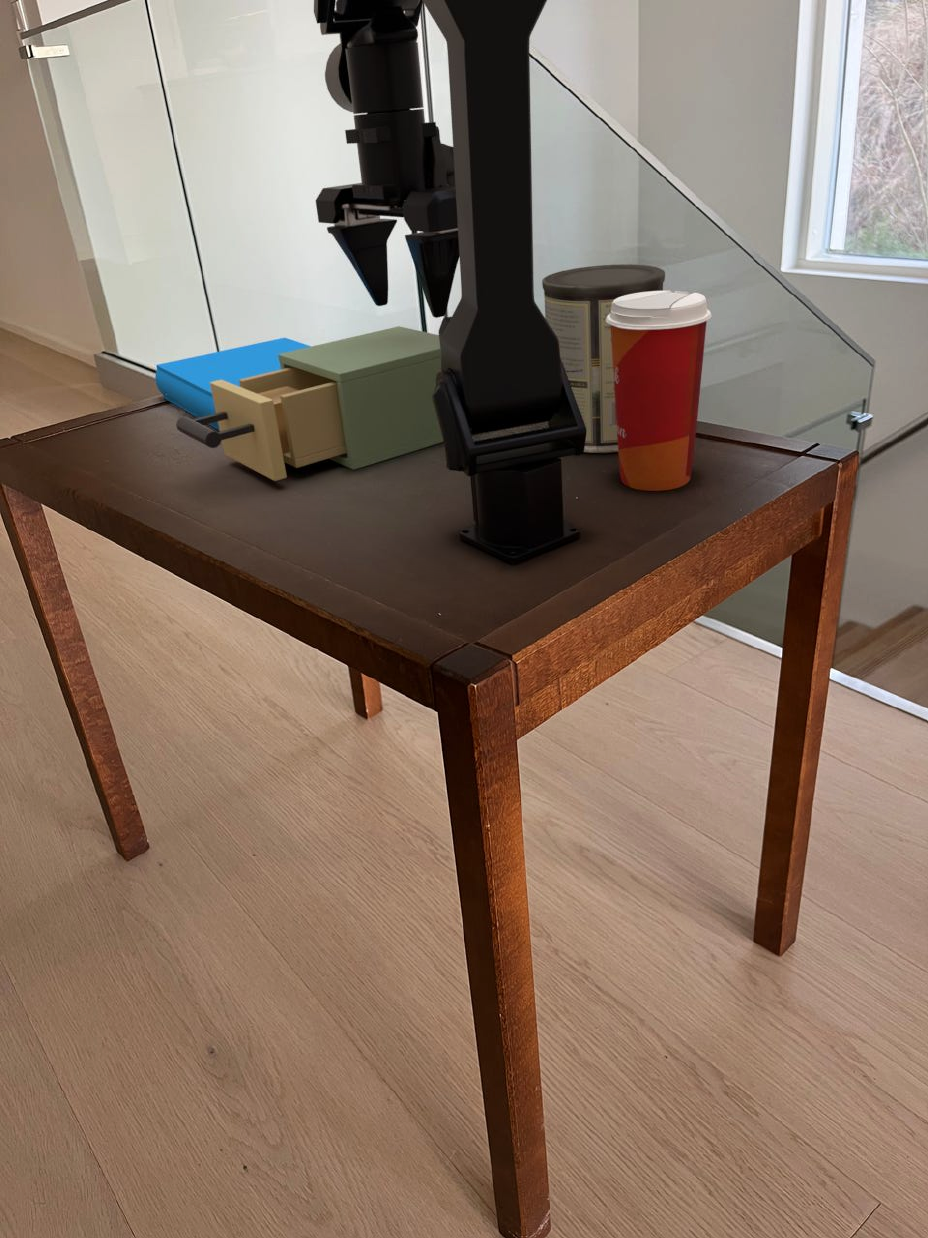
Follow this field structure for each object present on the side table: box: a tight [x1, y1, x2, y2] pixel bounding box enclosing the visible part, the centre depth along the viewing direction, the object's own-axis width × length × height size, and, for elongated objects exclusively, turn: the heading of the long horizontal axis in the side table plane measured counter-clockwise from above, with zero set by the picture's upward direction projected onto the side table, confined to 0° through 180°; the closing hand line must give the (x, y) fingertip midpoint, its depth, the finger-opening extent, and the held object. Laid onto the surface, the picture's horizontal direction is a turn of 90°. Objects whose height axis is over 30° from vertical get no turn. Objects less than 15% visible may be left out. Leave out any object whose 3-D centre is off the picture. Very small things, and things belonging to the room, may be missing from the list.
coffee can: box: [541, 264, 666, 454], centre depth 84 cm, size 10×10×14 cm
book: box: [155, 337, 313, 432], centre depth 105 cm, size 17×4×25 cm
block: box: [258, 386, 299, 454], centre depth 85 cm, size 4×4×4 cm
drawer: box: [175, 367, 347, 482], centre depth 85 cm, size 17×10×7 cm, turn 127°
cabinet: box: [278, 325, 444, 471], centre depth 90 cm, size 14×12×9 cm
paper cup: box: [606, 290, 712, 492], centre depth 73 cm, size 8×8×14 cm
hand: (409, 310), depth 84 cm, fingers open, 9 cm apart
